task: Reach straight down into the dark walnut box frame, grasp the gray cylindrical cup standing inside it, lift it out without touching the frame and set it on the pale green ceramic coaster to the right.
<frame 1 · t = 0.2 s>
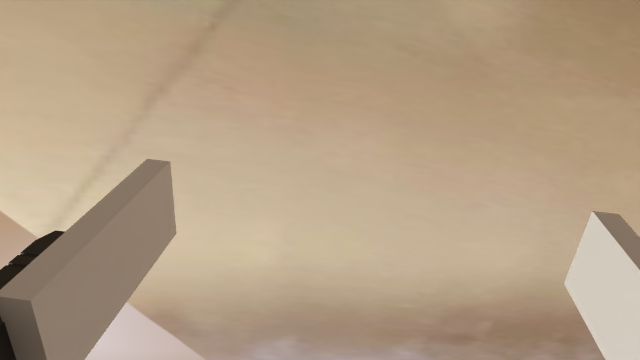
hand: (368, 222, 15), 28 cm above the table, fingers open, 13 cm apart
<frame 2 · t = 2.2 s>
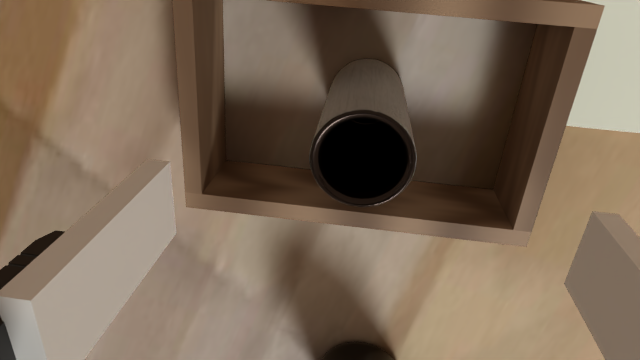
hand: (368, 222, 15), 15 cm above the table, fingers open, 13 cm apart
gray cylindrical cup: (366, 94, 29), resting in box frame
coaster: (620, 59, 26), on the table
box frame: (366, 94, 29), on the table
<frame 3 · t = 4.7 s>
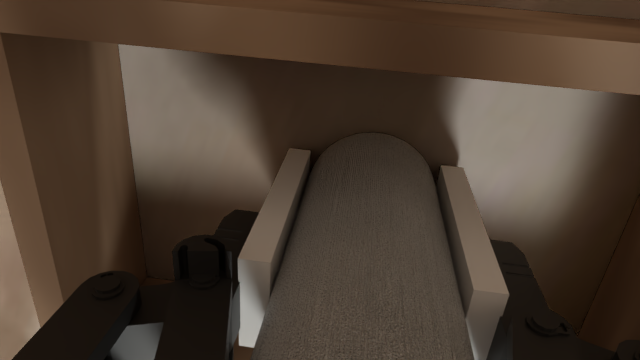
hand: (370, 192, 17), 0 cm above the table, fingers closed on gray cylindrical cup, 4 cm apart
gray cylindrical cup: (370, 186, 17), resting in box frame, touching gripper
box frame: (370, 189, 17), on the table
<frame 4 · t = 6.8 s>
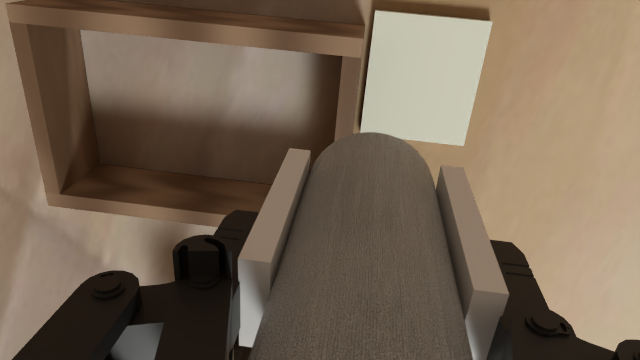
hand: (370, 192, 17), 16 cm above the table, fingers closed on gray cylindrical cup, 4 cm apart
supplement bottle: (240, 351, 43), on the table
gray cylindrical cup: (369, 186, 17), point 15 cm above the table, touching gripper
coaster: (420, 79, 30), on the table
box frame: (212, 107, 33), on the table
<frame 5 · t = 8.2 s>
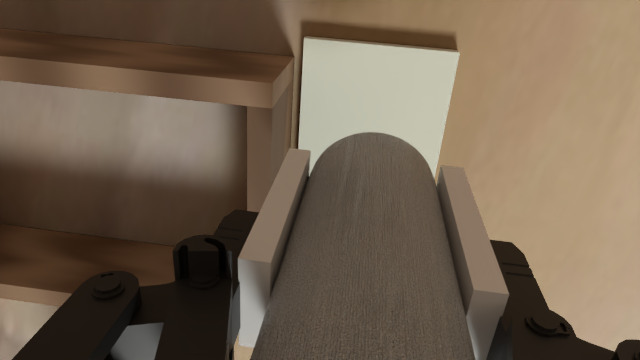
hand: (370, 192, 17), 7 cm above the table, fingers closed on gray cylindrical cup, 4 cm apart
gray cylindrical cup: (370, 186, 17), point 7 cm above the table, touching gripper
coaster: (370, 124, 23), on the table
box frame: (111, 157, 26), on the table
when the fingers open (2 cm above the table, at t = 9.2 s): gray cylindrical cup drops 1 cm, resting on coaster.
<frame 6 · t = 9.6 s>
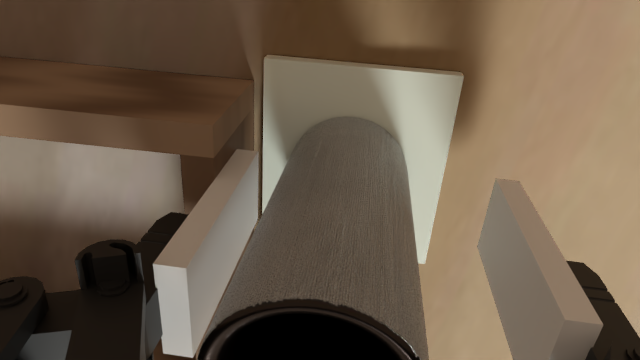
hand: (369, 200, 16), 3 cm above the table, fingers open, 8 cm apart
gray cylindrical cup: (348, 168, 18), resting on coaster
coaster: (352, 163, 19), on the table
box frame: (36, 201, 21), on the table
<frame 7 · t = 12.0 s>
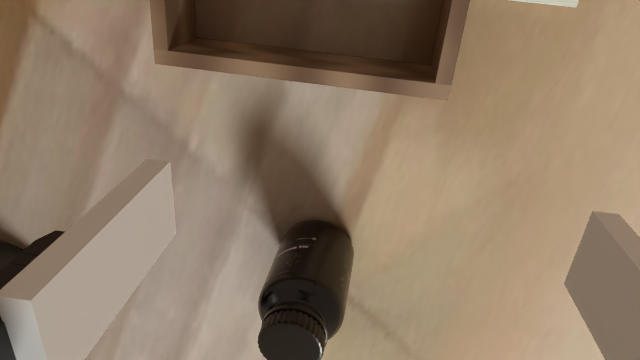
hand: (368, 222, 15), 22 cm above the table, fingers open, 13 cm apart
supplement bottle: (317, 247, 43), on the table
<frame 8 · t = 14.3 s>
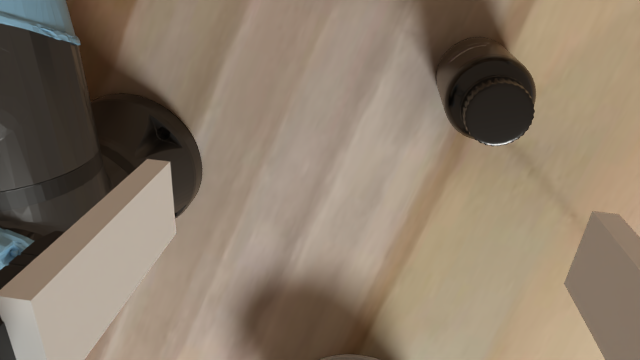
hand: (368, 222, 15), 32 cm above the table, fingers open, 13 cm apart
supplement bottle: (471, 73, 43), on the table
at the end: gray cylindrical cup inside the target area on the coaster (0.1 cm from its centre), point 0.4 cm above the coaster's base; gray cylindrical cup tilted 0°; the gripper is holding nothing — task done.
